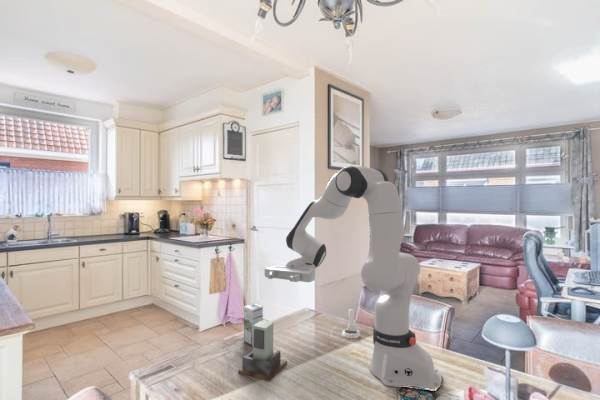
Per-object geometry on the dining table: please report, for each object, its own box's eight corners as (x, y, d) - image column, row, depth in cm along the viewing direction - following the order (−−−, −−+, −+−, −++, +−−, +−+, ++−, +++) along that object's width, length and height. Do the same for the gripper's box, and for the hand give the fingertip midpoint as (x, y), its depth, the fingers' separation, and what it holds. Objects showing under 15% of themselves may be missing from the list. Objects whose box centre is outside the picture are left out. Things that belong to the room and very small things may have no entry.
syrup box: (263, 341, 128) (263, 305, 128) (251, 346, 124) (251, 309, 124) (254, 337, 132) (254, 302, 132) (243, 341, 128) (243, 305, 128)
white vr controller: (355, 314, 143) (361, 310, 138) (356, 343, 136) (363, 339, 131) (339, 312, 142) (345, 307, 137) (339, 340, 135) (346, 337, 129)
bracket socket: (286, 363, 111) (286, 349, 111) (269, 381, 100) (269, 365, 100) (257, 356, 116) (257, 342, 116) (238, 372, 105) (238, 357, 105)
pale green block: (273, 363, 109) (273, 322, 109) (265, 371, 104) (265, 328, 104) (260, 360, 111) (260, 320, 111) (252, 367, 106) (252, 326, 106)
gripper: (274, 260, 136) (256, 267, 123) (318, 265, 127) (304, 272, 115) (273, 275, 136) (256, 283, 123) (318, 280, 127) (304, 289, 115)
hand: (280, 278), depth 119 cm, fingers open, 8 cm apart
